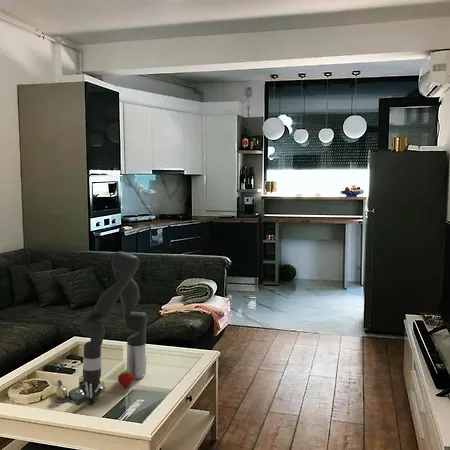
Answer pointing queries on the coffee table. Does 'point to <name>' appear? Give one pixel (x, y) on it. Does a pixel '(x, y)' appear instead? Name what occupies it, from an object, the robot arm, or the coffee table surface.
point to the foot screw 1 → (61, 391)
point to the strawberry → (125, 379)
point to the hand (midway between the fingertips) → (91, 404)
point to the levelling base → (73, 395)
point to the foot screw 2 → (83, 399)
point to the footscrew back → (80, 380)
